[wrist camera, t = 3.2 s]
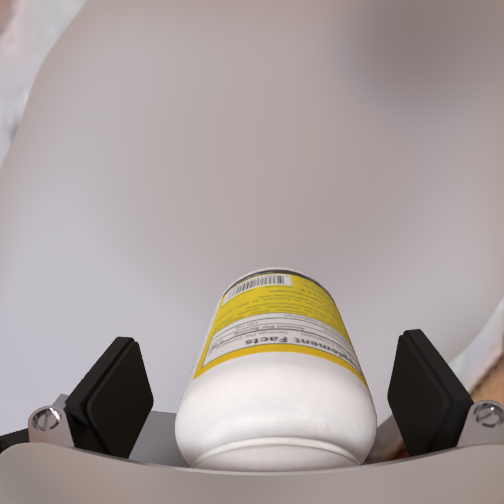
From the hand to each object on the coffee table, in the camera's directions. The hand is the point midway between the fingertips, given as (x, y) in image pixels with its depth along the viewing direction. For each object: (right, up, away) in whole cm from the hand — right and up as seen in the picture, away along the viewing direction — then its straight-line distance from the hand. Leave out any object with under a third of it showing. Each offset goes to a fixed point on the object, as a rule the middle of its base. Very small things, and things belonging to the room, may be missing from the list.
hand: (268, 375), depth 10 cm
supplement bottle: (+1, +1, +4) cm, 4 cm away
